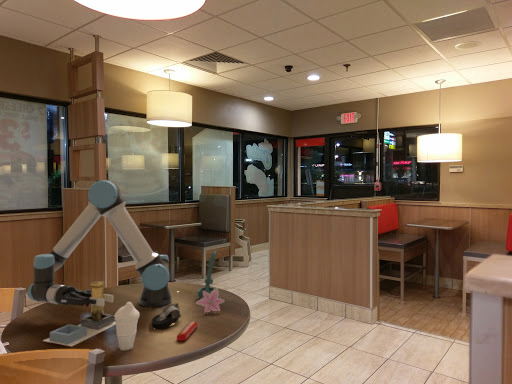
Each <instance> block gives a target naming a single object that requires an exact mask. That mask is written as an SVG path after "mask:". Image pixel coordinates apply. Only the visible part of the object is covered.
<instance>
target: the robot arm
mask: <svg viewBox="0 0 512 384" xmlns="http://www.w3.org/2000/svg"><path fill="white" fill-rule="evenodd" d="M87 198H88V201H87V202H88V205H87V206H86V207H85V208H84V210H82V212H81V213H80V215H78V217H77V218H76V220H75V221H74V222H73V223H72V225H70V227H69V228H68V229H67V231H66V232H65V233H64V235H63V236H62V237H61V238H60V239H59V241H58V242H57V243H56V244H55V245H54V247H53V248H52V249H51V250H50V252H49V253H44V254H43V253H42V254H37V255H35V256H34V258H33V264H32V265H33V283H31V284H30V285H29V286H28V289H27V290H26V291H27V292H26V295H27V297H28V298H29V299H30V300H31V301H35V302H39V303H49V304H55V305H61V306H62V305H63V306H69V305H73V306H79V307H84V306H85V308H87V307H89V306H90V305H97V306H103V307H104V306H106V305H105V303H114V301H115V300H114V299H115V298H114V297H115V296H114V294H109V293H104V296H103V298H95V297H91V289H88V288H87V289H84V290H79V289H78V290H76V288H75V287H74V286H71V285H65V284H58V283H57V284H56V283H55V273H56V271H58V270H60V269H61V268H62V267H63V266H64V263H65V262H66V261H67V259H68V258H69V257H70V256H71V254H72V253H73V252H74V250H75V249H76V248H77V247H78V245H79V244H81V242H82V241H83V239H84V238H86V235H87V234H88V233H89V232H90V230H91V229H92V228H93V226H94V225H95V224H96V223H97V221H99V220H100V218H101V217H105V218H107V220H108V222H109V223H110V225H111V226H112V227H113V229H114V231H115V233H116V234H117V236H118V237H119V239H120V240H121V242H122V243H123V245H124V247H125V248H126V250H127V251H128V252H129V254H130V256H131V257H132V258H133V261H134V262H135V266H134V267H135V270H136V272H137V274H138V275H139V277H140V278H141V283H142V284H143V286H142V290H141V292H140V296H139V298H138V299H139V300H138V303H139V305H140V306H143V307H154V308H155V307H164V306H167V305H170V304H171V303H172V294H171V290H170V287H169V279H171V278H170V270H169V262H170V260H169V256H168V254H159V253H158V252H154V251H153V249H152V248H151V246H150V245H149V243H148V241H147V240H146V238H145V237H144V235H143V234H142V232H141V231H140V228H139V227H138V226H137V224H136V223H135V221H134V219H133V218H132V216H131V214H130V213H129V211H128V210H127V209H126V203H127V202H126V201H125V198H124V197H123V195H122V193H121V189H120V187H119V186H118V184H117V183H115V182H114V181H111V180H107V179H101V180H100V179H99V180H97V181H95V182H94V183H92V184H91V185H90V187H89V188H88V191H87ZM170 302H171V303H170ZM166 304H167V305H166Z"/></svg>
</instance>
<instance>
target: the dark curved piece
mask: <svg viewBox="0 0 512 384" xmlns="http://www.w3.org/2000/svg"><path fill="white" fill-rule="evenodd" d="M217 254H218V250H215V251H212V253H211V254H210V257H209V260H208V263H207V265H208V268H207V269H206V274H207V275H206V278H205V279H204V280H203V281H204V283H205V285H204V287H200V288H199V289H198V290H197V297H198V298H199V297H200V298H204V295H203V291H206V292H207V293H209V294H210V293H211V292H212V291H213V290H214V289H216V288H215V287H212V286H210V285H213V283H214V278H212V271H213V267H214V263H215V260H216V256H217Z"/></svg>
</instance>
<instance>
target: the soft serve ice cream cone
mask: <svg viewBox="0 0 512 384" xmlns="http://www.w3.org/2000/svg"><path fill="white" fill-rule="evenodd" d="M140 315H141V314H140V312H139V310H137V309H136V308H135V306H134V305H133V302H131V301H127V302H126V303H125V305H123V306H121V307H120V308H118V310H117V311H116V312H115V314H113V321H114V322H116V325H115V327H116V328H115V329H116V332H115V334H116V337H117V341H118V347H119V350H120V351H129V350H132V349H133V348H134V343H135V338H136V335H137V326H138V320H139V318H140Z"/></svg>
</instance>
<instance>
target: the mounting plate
mask: <svg viewBox="0 0 512 384" xmlns="http://www.w3.org/2000/svg"><path fill="white" fill-rule="evenodd" d="M77 326H81V323H80V324H77ZM114 326H116V321H113V323H111V324H109V325H107V326H105V327H103V328H101V329H99V330H96V329H90V328H87V336H85V337H82V338H80V339H78V340H76V341H74V342H72V343H70V344H64V343H58V342H53V341H50V337H48V338H45V339H43V340H42V341H43V342H46V343H50V344H52V343H53V344H57V345H61V346H62V345H63V346H68V347H73V346H76V345H78V344H79V343H82V342H84V341H85V340H87V339H89V338H92V337H94V336H96V335H98V334H99V333H102V332H104V331H105V330H107V329H110V328H112V327H114Z"/></svg>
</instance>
